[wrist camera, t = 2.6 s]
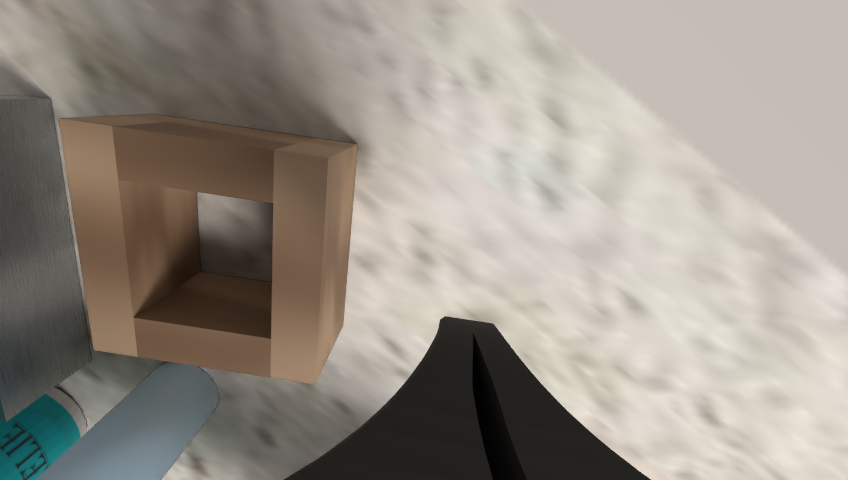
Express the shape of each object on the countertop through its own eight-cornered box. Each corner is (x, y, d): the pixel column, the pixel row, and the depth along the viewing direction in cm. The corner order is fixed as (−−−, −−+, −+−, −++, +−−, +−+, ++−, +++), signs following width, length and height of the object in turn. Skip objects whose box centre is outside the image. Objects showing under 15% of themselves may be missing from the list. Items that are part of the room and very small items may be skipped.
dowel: (219, 423, 21) (110, 577, 14) (153, 413, 21) (12, 561, 14) (217, 367, 19) (98, 504, 13) (147, 356, 19) (-8, 488, 13)
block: (342, 325, 18) (315, 384, 14) (167, 298, 18) (93, 350, 15) (358, 143, 16) (328, 157, 12) (152, 114, 16) (58, 118, 12)
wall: (91, 360, 20) (6, 421, 16) (71, 356, 20) (-19, 417, 16) (50, 99, 16) (-75, 98, 12) (25, 95, 16) (-109, 93, 12)
